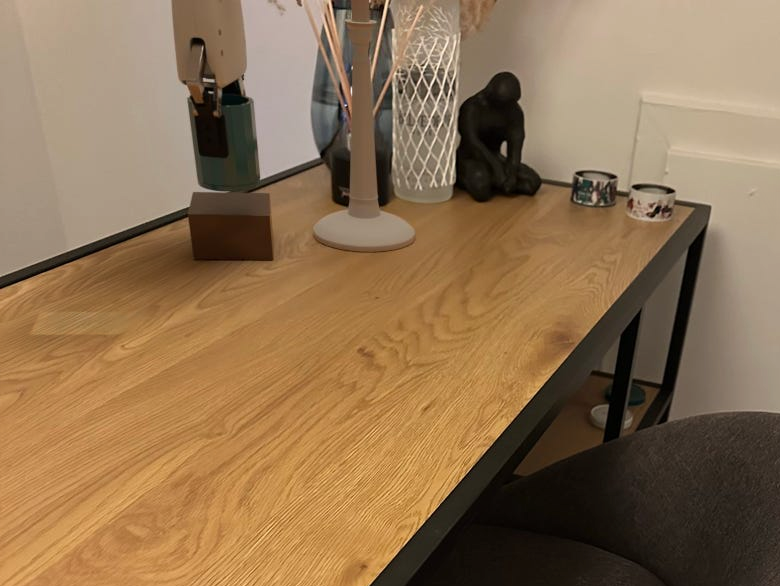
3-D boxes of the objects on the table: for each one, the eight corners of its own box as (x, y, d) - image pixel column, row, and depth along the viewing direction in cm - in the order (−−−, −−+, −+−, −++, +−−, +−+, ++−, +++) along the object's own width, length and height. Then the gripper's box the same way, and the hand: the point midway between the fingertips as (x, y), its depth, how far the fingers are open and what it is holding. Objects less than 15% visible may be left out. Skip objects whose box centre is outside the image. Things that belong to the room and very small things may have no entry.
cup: (189, 188, 105) (177, 103, 100) (209, 172, 110) (199, 90, 105) (250, 194, 105) (242, 108, 99) (267, 178, 110) (260, 95, 105)
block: (193, 260, 108) (187, 214, 105) (198, 235, 115) (192, 191, 112) (273, 260, 109) (269, 215, 106) (273, 236, 116) (269, 193, 113)
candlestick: (349, 214, 125) (342, -66, 106) (433, 232, 121) (441, -55, 102) (292, 237, 116) (272, -64, 97) (380, 258, 112) (378, -52, 93)
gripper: (195, -56, 101) (216, 128, 112) (134, -43, 87) (165, 164, 99) (264, -51, 100) (277, 133, 112) (214, -37, 87) (235, 170, 98)
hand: (224, 146), depth 105 cm, fingers closed on cup, 7 cm apart
